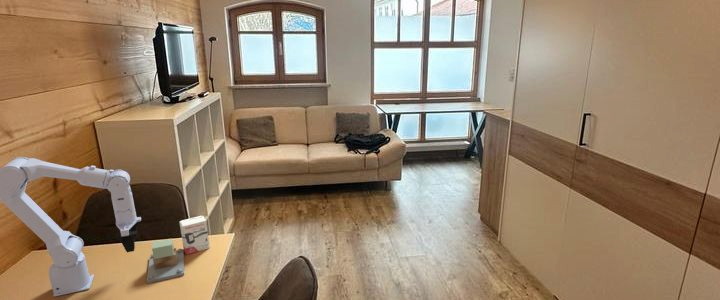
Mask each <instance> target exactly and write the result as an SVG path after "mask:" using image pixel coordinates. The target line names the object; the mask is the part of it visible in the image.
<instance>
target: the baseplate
mask: <svg viewBox="0 0 720 300" xmlns="http://www.w3.org/2000/svg"><path fill="white" fill-rule="evenodd" d="M176 251H177V257H178V265H174V266H170V267H165V268H160V269H156V270H155V268H154V262H153V253H152V254H151V255H150V256H149V260H148V269H147V275H146V276H147V277H146V284H150V283H156V282H161V281H165V280H168V279H173V278H178V277H182V276H185V251H184V248H178V249H176Z"/></svg>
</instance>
